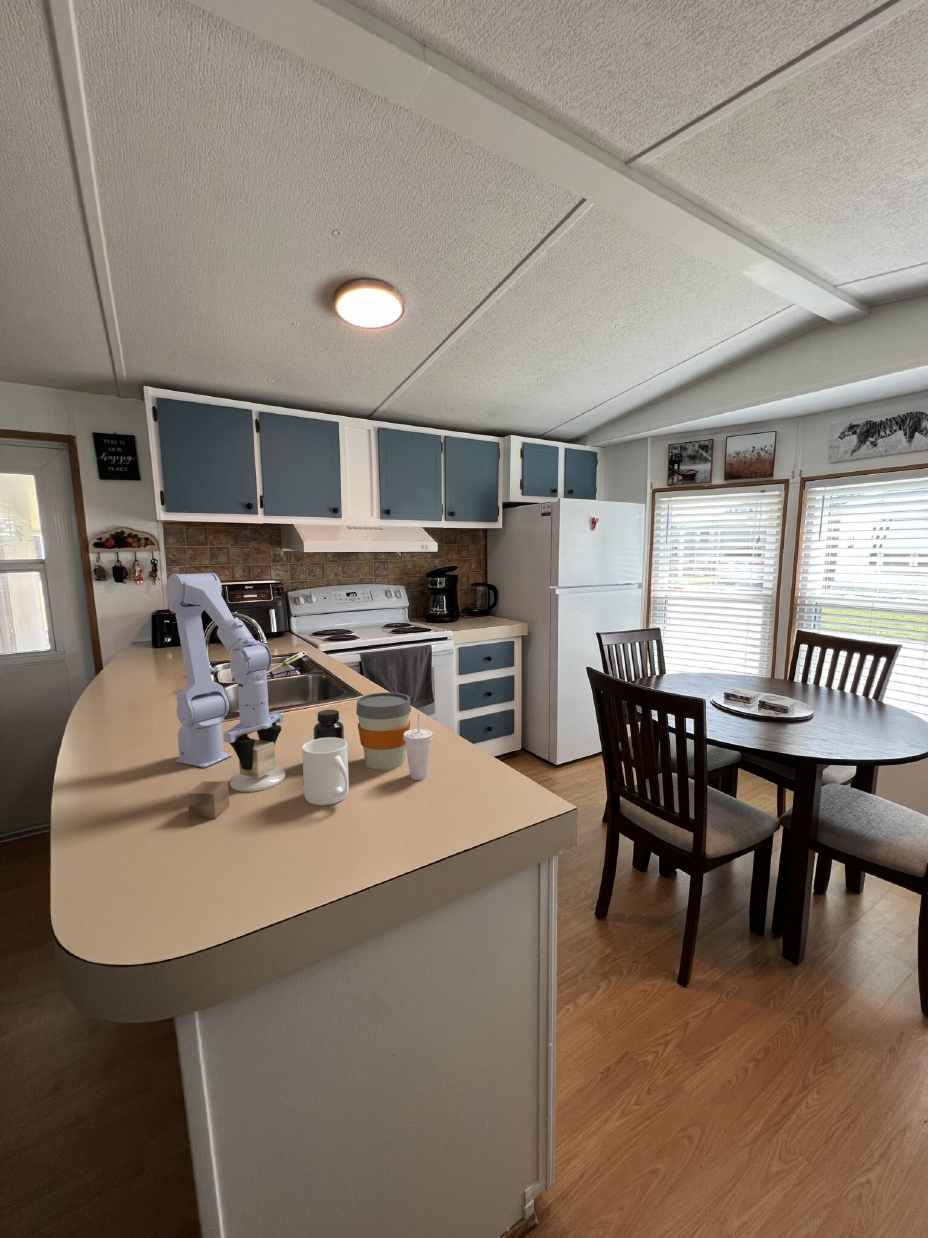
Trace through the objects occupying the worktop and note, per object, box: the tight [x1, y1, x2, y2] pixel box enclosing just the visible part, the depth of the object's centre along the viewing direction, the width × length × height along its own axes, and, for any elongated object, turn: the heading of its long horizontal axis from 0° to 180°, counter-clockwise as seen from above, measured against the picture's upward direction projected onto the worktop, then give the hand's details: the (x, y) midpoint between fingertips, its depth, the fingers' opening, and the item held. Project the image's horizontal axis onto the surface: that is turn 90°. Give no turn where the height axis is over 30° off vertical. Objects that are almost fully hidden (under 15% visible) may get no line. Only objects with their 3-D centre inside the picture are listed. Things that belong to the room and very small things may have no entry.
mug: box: [301, 737, 350, 806], centre depth 100 cm, size 9×12×11 cm
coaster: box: [229, 766, 286, 793], centre depth 110 cm, size 11×11×1 cm
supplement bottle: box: [313, 709, 345, 740], centre depth 119 cm, size 7×7×12 cm
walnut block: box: [186, 780, 230, 820], centre depth 96 cm, size 5×5×5 cm
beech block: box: [238, 738, 276, 778], centre depth 109 cm, size 5×5×6 cm
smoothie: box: [403, 712, 434, 781], centre depth 111 cm, size 6×6×14 cm
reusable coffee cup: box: [356, 692, 412, 771], centre depth 118 cm, size 13×12×15 cm
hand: (257, 764), depth 109 cm, fingers closed on beech block, 5 cm apart
